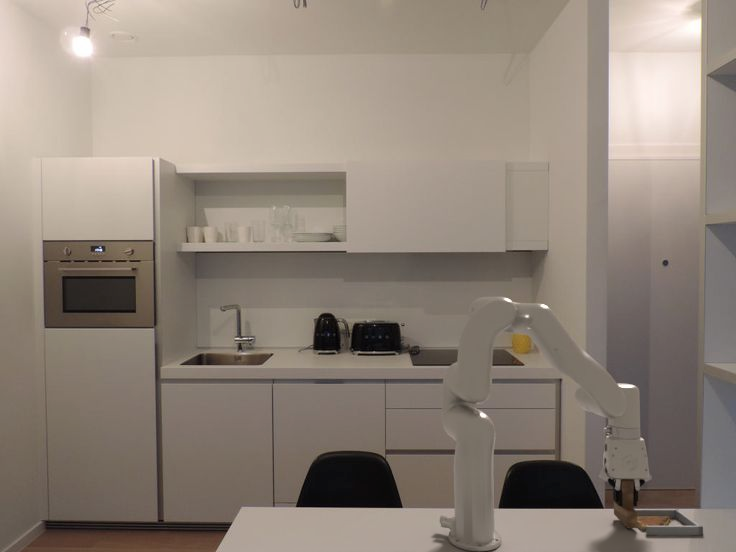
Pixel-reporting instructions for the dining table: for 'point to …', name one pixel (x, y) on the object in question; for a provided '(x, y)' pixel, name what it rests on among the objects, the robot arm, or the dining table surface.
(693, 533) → the frame
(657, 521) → the shard
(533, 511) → the dining table surface
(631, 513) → the wooden step block
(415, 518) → the dining table surface
